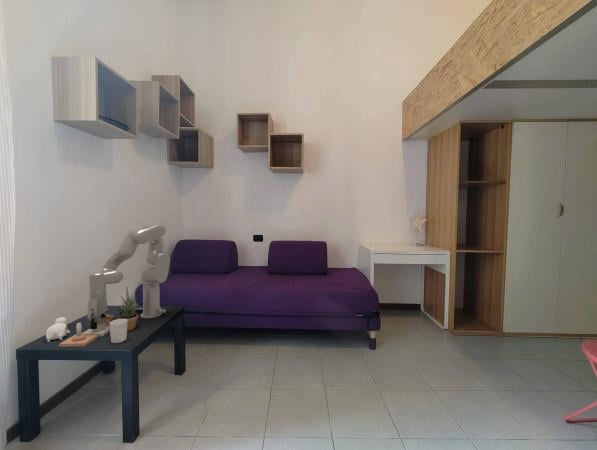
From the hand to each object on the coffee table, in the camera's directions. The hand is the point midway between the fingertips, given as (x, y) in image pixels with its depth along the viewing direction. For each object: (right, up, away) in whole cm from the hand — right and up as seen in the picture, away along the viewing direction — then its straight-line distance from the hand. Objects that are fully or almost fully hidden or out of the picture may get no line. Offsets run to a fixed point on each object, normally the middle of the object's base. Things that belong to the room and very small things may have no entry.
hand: (98, 325), depth 153 cm
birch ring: (0, 0, 0) cm, 0 cm away
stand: (0, -4, 0) cm, 4 cm away
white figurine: (-17, -4, -5) cm, 19 cm away
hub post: (-1, -4, -12) cm, 13 cm away
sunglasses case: (-8, -4, +16) cm, 18 cm away
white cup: (+18, -4, -10) cm, 21 cm away
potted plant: (+14, -4, +5) cm, 15 cm away
